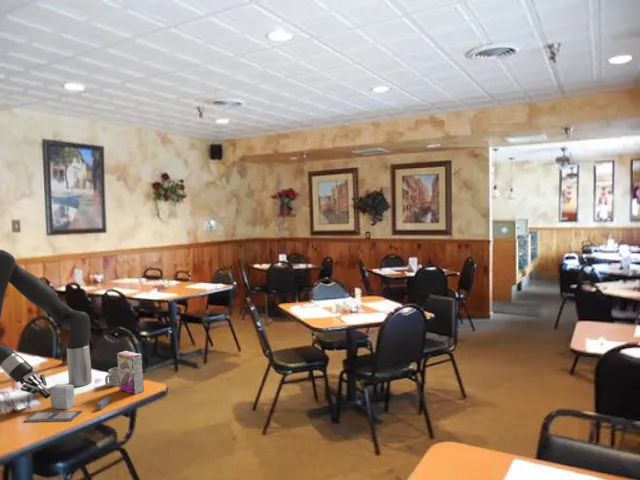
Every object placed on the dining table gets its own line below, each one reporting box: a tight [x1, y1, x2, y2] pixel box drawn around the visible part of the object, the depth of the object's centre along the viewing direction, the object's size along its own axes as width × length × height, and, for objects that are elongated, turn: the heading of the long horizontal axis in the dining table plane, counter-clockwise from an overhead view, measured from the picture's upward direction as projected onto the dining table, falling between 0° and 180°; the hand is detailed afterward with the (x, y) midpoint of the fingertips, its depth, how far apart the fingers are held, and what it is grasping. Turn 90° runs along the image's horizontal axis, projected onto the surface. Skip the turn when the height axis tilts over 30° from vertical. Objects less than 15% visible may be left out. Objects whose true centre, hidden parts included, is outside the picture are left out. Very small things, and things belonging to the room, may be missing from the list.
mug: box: [104, 366, 119, 387], centre depth 221 cm, size 10×7×7 cm
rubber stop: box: [96, 395, 111, 411], centre depth 197 cm, size 8×2×2 cm, turn 178°
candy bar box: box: [116, 350, 145, 395], centre depth 213 cm, size 11×5×16 cm, turn 56°
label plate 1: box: [23, 410, 60, 423], centre depth 188 cm, size 8×9×1 cm
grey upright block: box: [49, 383, 76, 410], centre depth 198 cm, size 8×4×9 cm, turn 74°
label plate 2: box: [47, 410, 83, 422], centre depth 188 cm, size 8×9×1 cm
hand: (49, 396), depth 198 cm, fingers closed
